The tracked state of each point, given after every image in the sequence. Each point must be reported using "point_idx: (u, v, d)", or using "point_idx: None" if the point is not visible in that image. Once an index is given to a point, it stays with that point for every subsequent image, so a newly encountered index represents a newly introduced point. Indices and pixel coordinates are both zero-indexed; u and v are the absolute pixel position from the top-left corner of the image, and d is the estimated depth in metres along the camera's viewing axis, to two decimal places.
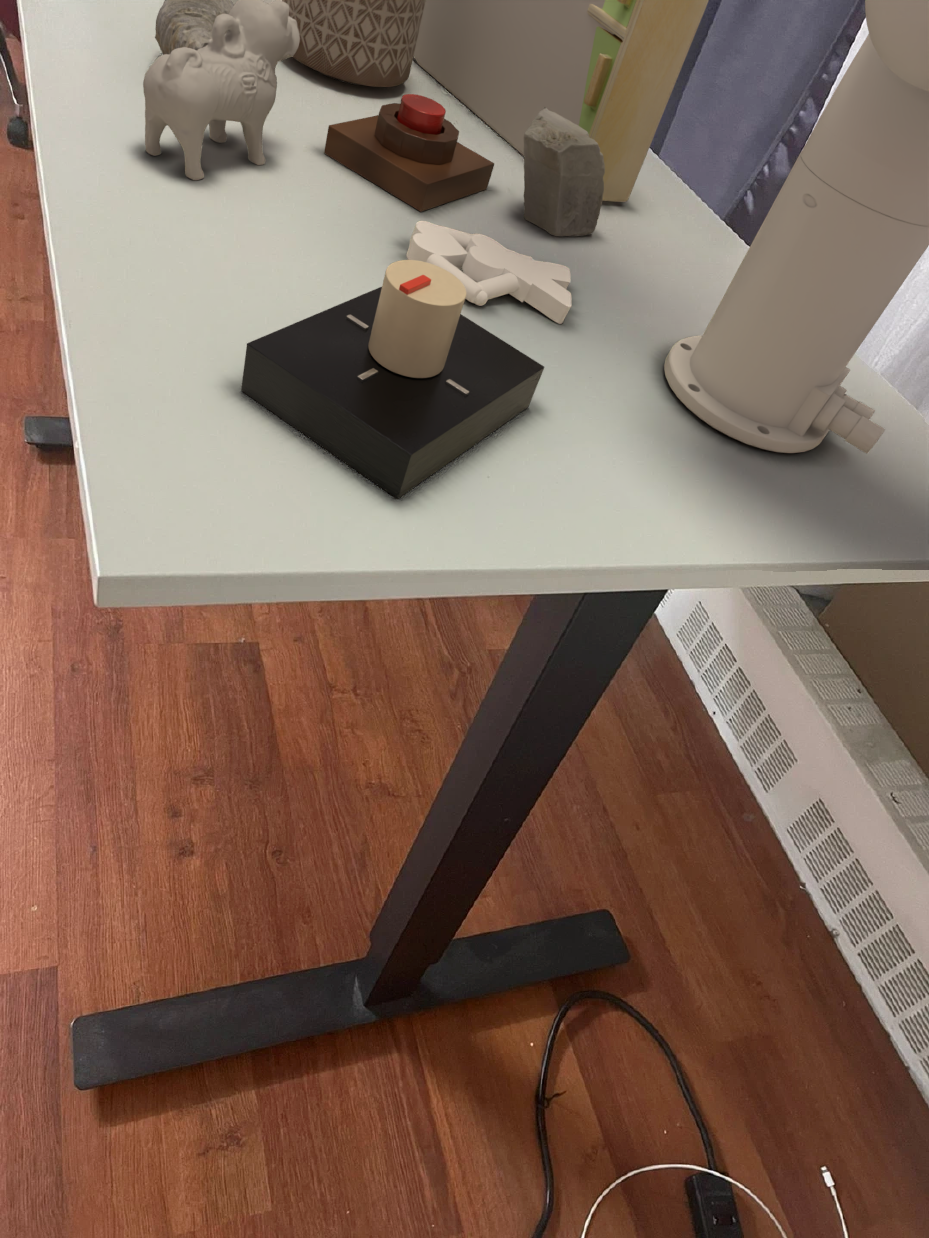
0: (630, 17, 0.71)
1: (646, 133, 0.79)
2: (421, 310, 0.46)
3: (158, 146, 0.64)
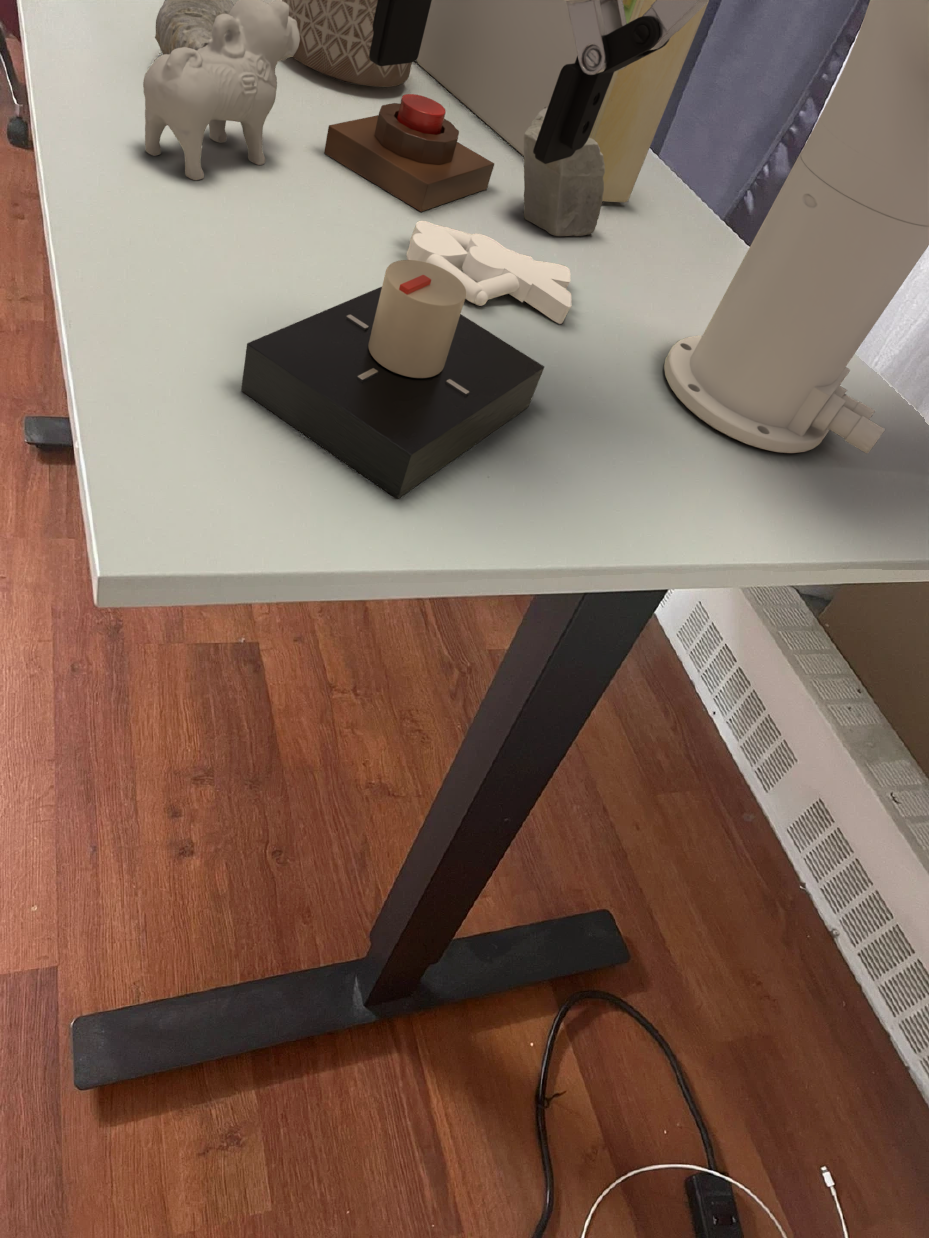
0: (630, 17, 0.71)
1: (646, 133, 0.79)
2: (421, 310, 0.46)
3: (158, 146, 0.64)
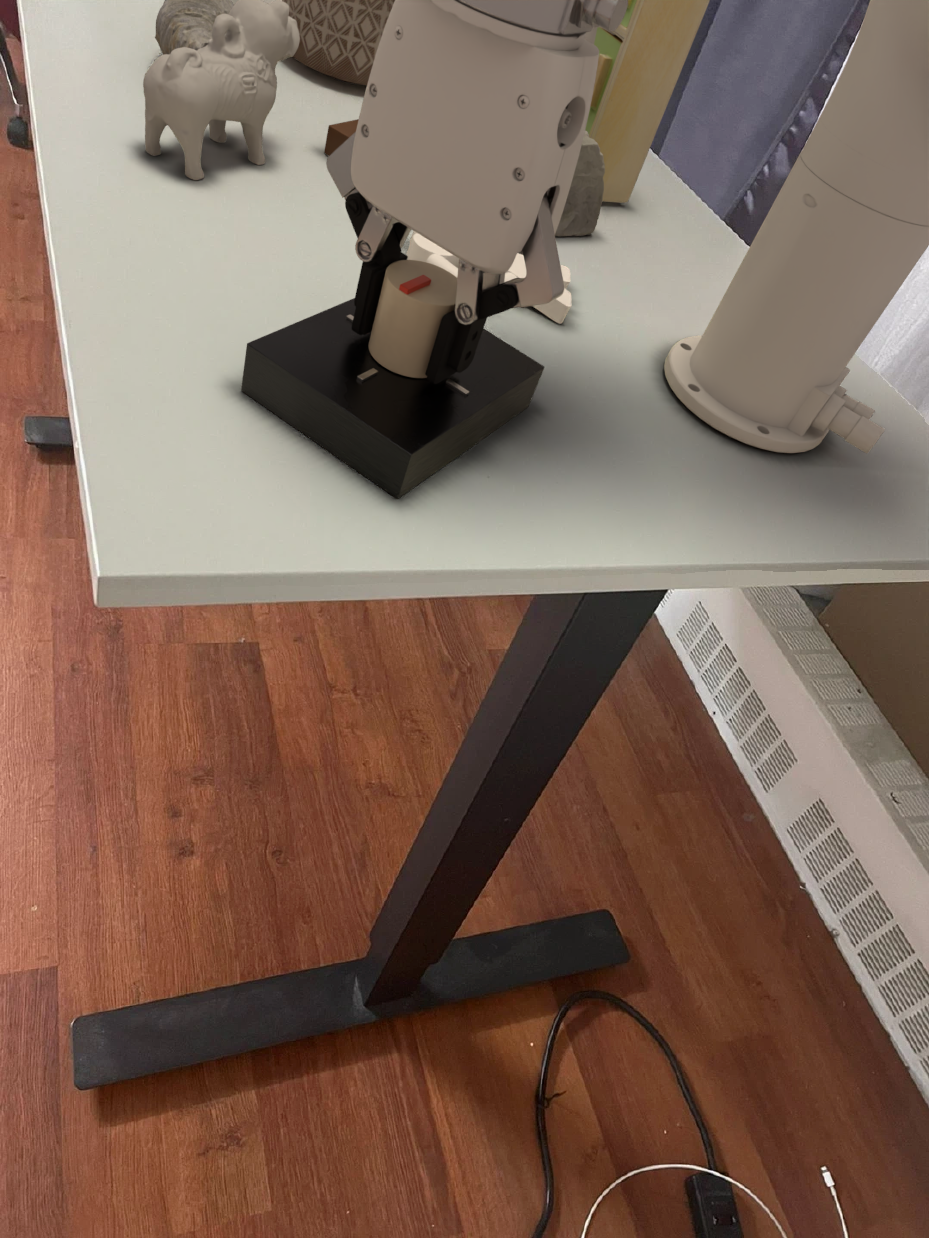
0: (630, 17, 0.71)
1: (646, 134, 0.79)
2: (421, 310, 0.46)
3: (158, 146, 0.64)
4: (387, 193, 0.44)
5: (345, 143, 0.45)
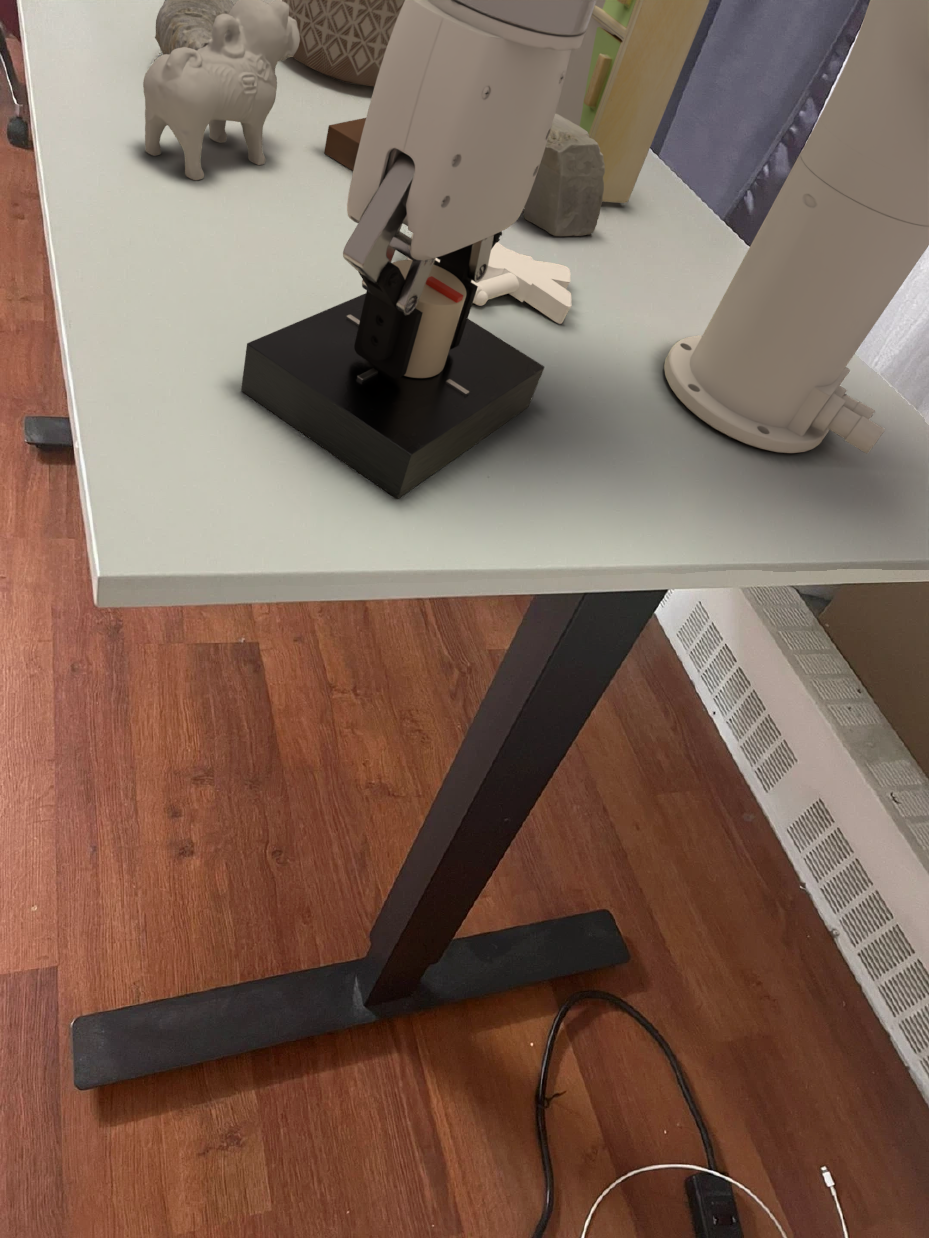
0: (630, 17, 0.71)
1: (646, 134, 0.79)
2: None
3: (158, 146, 0.64)
4: (457, 236, 0.43)
5: (382, 231, 0.40)
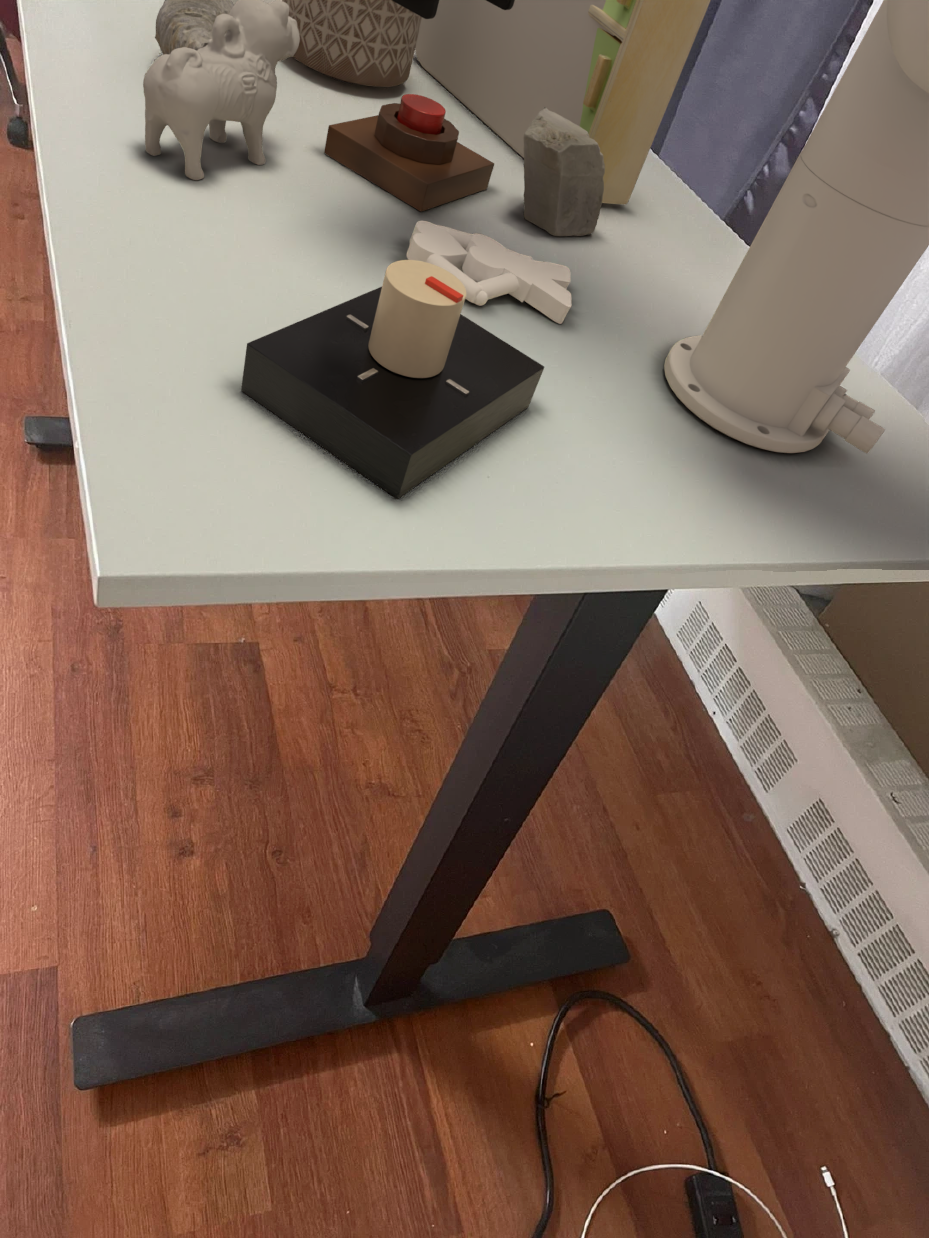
0: (630, 18, 0.71)
1: (646, 135, 0.78)
2: None
3: (158, 146, 0.64)
4: None
5: None
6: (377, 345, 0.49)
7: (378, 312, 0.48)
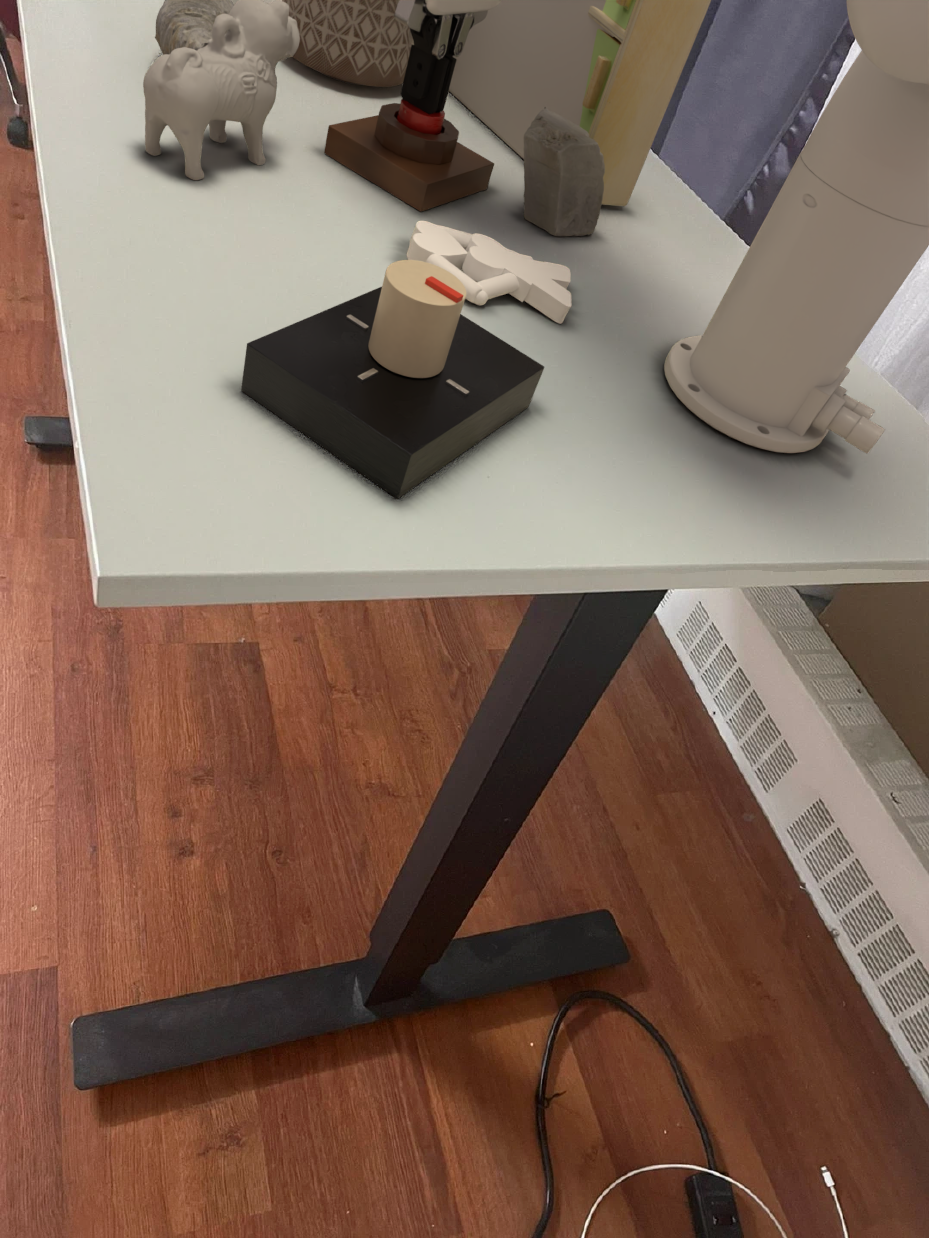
0: (629, 19, 0.70)
1: (646, 137, 0.78)
2: None
3: (158, 146, 0.64)
4: None
5: None
6: (377, 345, 0.49)
7: (378, 312, 0.48)
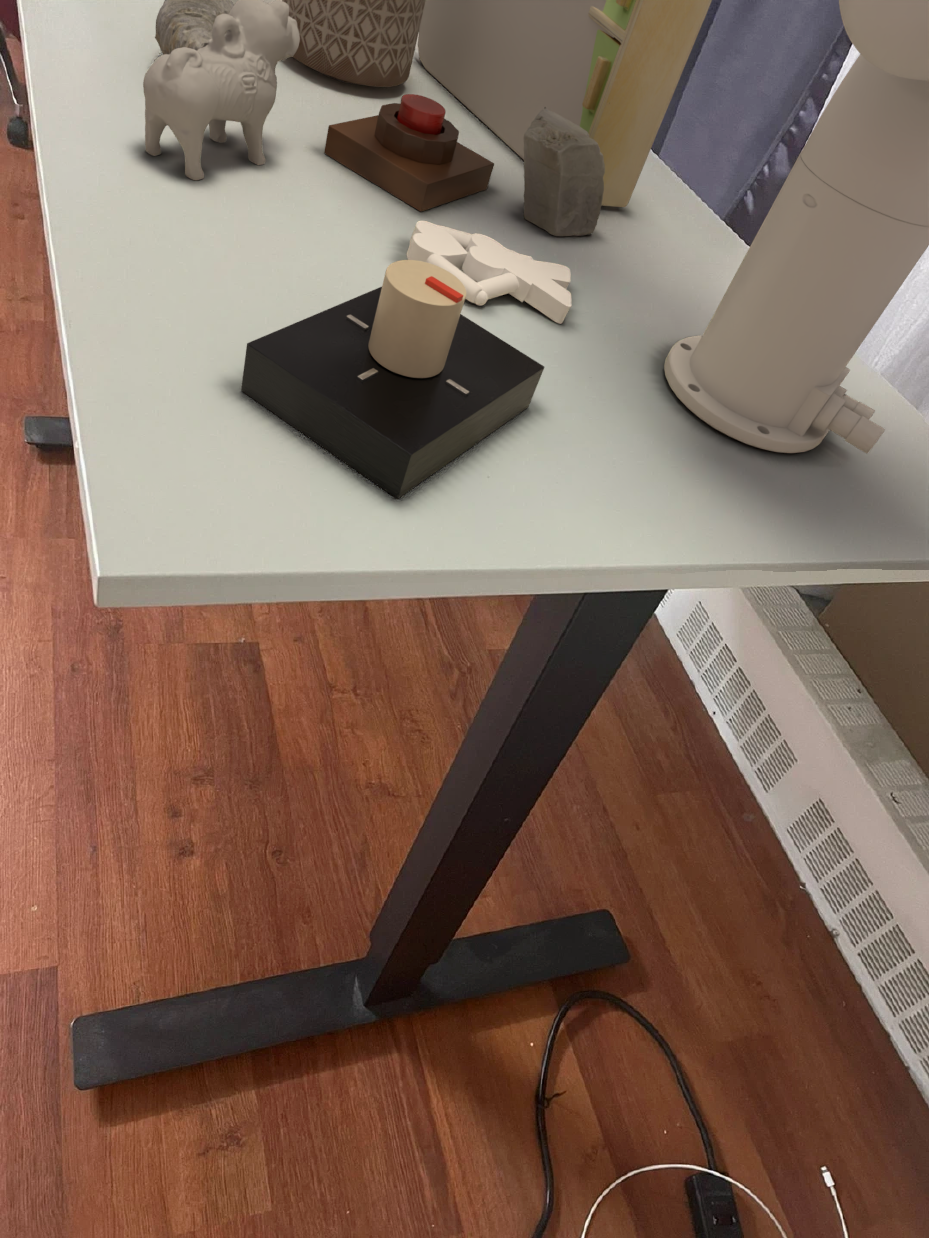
0: (629, 19, 0.70)
1: (646, 138, 0.78)
2: None
3: (158, 146, 0.64)
4: None
5: None
6: (377, 345, 0.49)
7: (378, 312, 0.48)
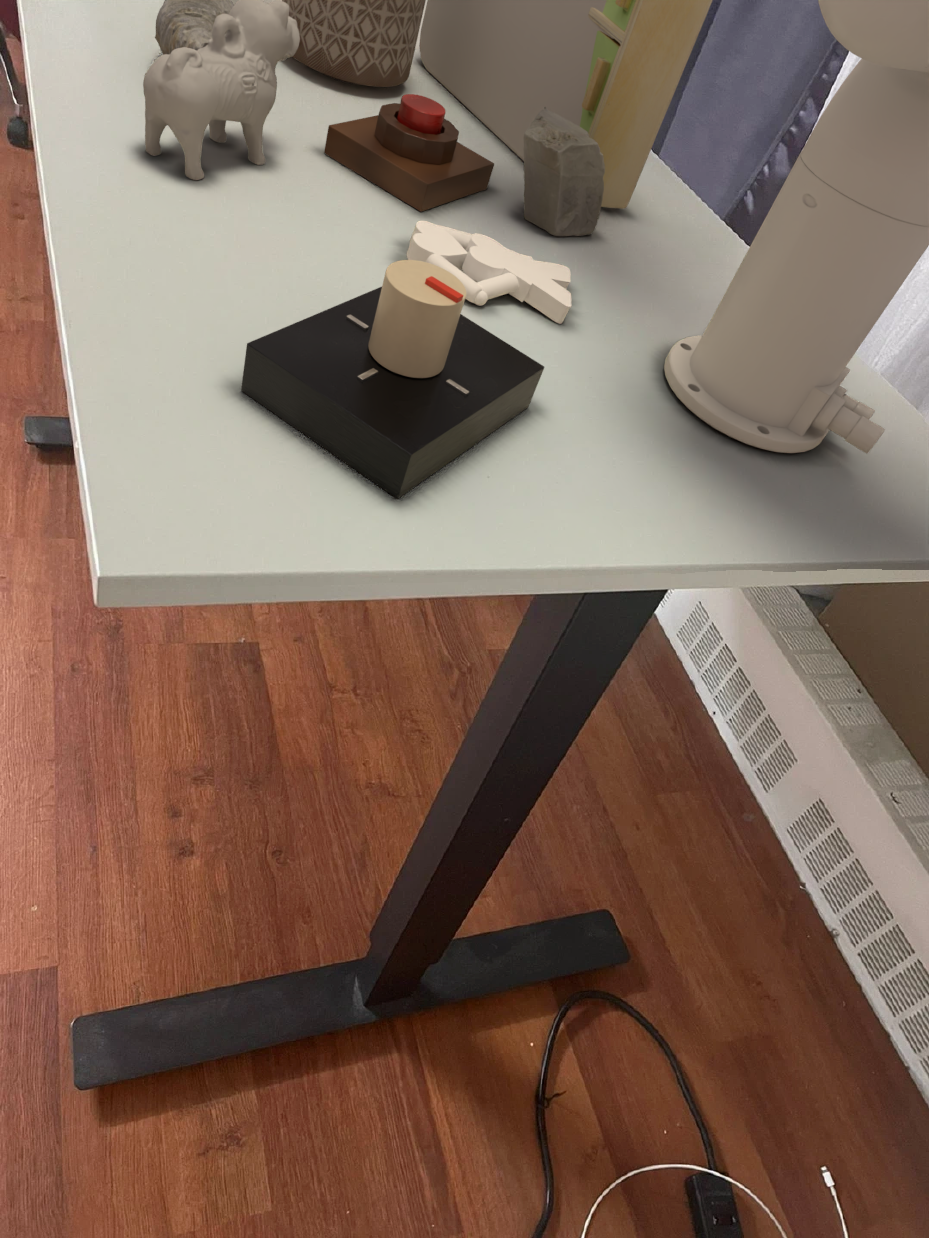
0: (628, 20, 0.70)
1: (645, 139, 0.78)
2: None
3: (158, 146, 0.64)
4: None
5: None
6: (377, 345, 0.49)
7: (378, 312, 0.48)
